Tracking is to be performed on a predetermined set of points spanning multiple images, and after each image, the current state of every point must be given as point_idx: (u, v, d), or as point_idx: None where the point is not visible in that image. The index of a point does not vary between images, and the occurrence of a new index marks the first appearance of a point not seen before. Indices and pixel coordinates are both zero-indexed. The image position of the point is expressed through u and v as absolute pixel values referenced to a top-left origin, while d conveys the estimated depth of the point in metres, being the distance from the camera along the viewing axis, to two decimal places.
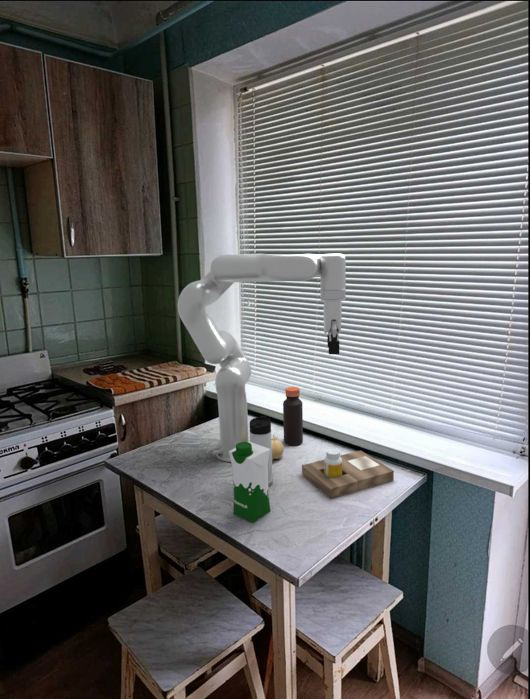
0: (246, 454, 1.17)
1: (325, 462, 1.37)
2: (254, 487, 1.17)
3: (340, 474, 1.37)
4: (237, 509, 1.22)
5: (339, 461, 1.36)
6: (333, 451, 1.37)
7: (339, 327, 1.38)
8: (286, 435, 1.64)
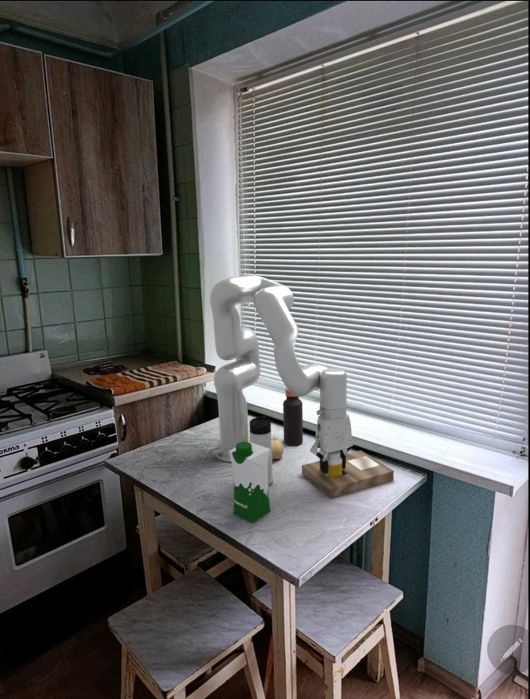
0: (246, 454, 1.17)
1: None
2: (254, 487, 1.17)
3: (340, 474, 1.37)
4: (237, 509, 1.22)
5: (339, 461, 1.36)
6: None
7: None
8: (286, 435, 1.64)
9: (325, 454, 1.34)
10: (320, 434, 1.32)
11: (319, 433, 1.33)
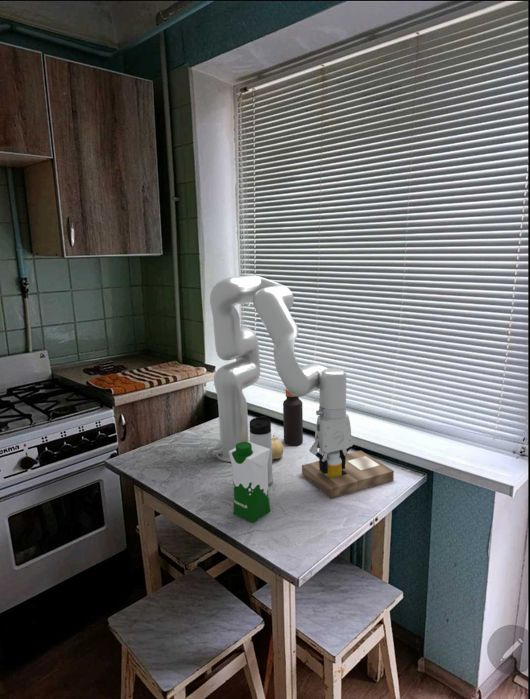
0: (246, 454, 1.17)
1: None
2: (254, 487, 1.17)
3: (340, 474, 1.37)
4: (237, 509, 1.22)
5: (339, 461, 1.36)
6: None
7: None
8: (286, 435, 1.64)
9: (325, 454, 1.34)
10: (319, 434, 1.32)
11: (318, 433, 1.33)
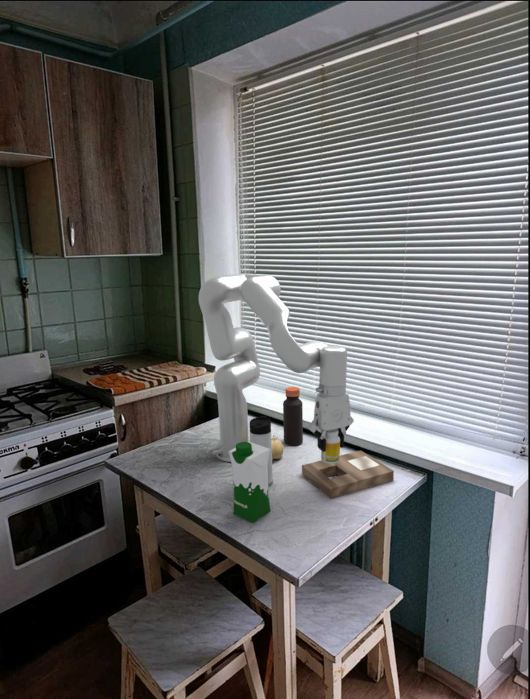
0: (246, 454, 1.17)
1: None
2: (254, 487, 1.17)
3: (338, 453, 1.36)
4: (237, 509, 1.22)
5: (337, 439, 1.35)
6: None
7: None
8: (286, 435, 1.64)
9: (323, 432, 1.33)
10: (319, 411, 1.31)
11: (318, 411, 1.32)
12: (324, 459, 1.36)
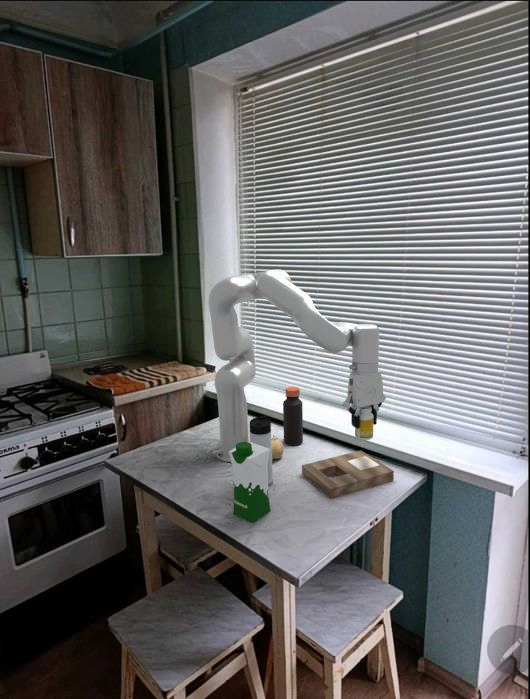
0: (246, 454, 1.17)
1: None
2: (254, 487, 1.17)
3: (372, 429, 1.39)
4: (237, 509, 1.22)
5: (371, 416, 1.38)
6: (364, 407, 1.39)
7: None
8: (286, 435, 1.64)
9: (357, 409, 1.36)
10: (353, 388, 1.34)
11: (351, 388, 1.35)
12: (358, 436, 1.39)
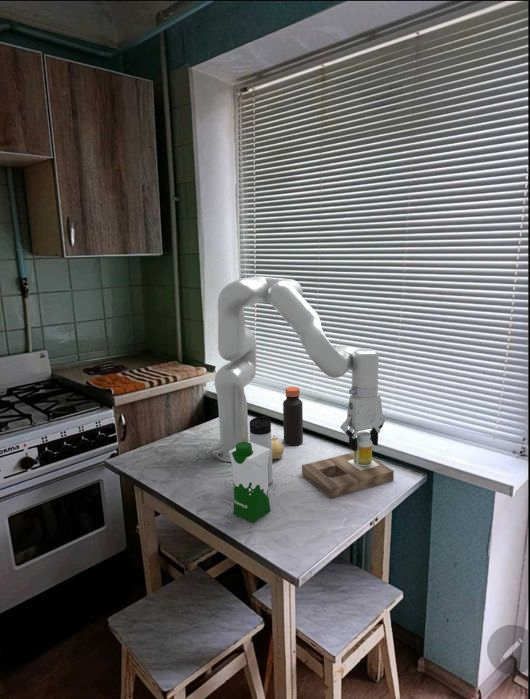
0: (246, 454, 1.17)
1: None
2: (254, 487, 1.17)
3: (370, 456, 1.40)
4: (237, 509, 1.22)
5: (370, 443, 1.39)
6: (364, 434, 1.41)
7: None
8: (286, 435, 1.64)
9: (355, 432, 1.38)
10: (352, 412, 1.36)
11: (351, 411, 1.37)
12: (356, 462, 1.41)
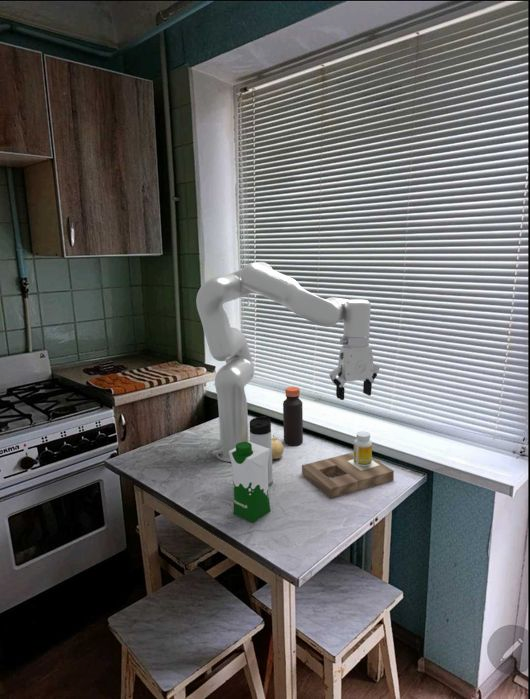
0: (246, 454, 1.17)
1: (355, 444, 1.40)
2: (254, 487, 1.17)
3: (370, 456, 1.40)
4: (237, 509, 1.22)
5: (369, 443, 1.39)
6: (363, 434, 1.41)
7: None
8: (286, 435, 1.64)
9: (343, 381, 1.38)
10: (343, 362, 1.36)
11: (342, 361, 1.37)
12: (356, 462, 1.41)
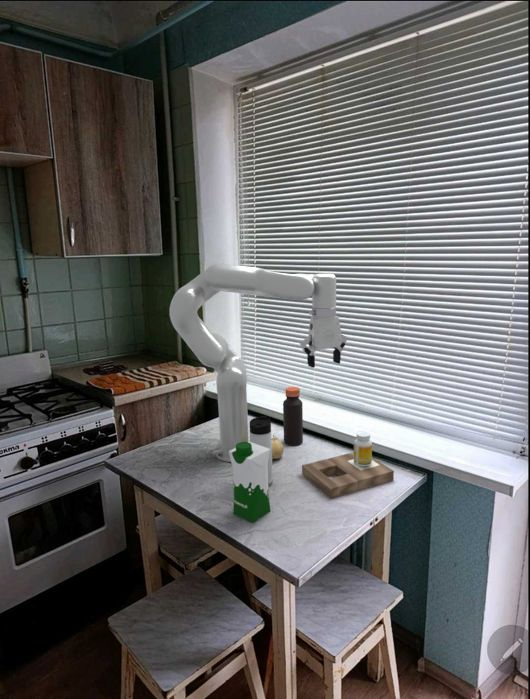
0: (246, 454, 1.17)
1: (355, 444, 1.40)
2: (254, 487, 1.17)
3: (370, 456, 1.40)
4: (237, 509, 1.22)
5: (369, 443, 1.39)
6: (363, 433, 1.41)
7: None
8: (286, 435, 1.64)
9: (313, 349, 1.49)
10: (312, 332, 1.47)
11: (311, 331, 1.48)
12: (356, 462, 1.41)
